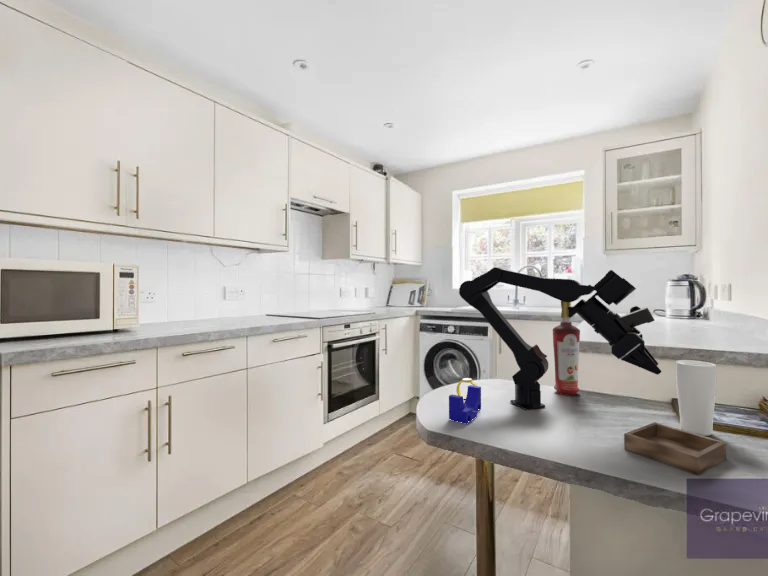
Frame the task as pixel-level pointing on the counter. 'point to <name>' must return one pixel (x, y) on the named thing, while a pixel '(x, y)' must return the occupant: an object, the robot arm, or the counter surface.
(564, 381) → the liquor
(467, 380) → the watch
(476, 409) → the blue u-shaped holder
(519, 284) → the robot arm
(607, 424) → the counter surface
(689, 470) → the walnut box
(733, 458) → the counter surface
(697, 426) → the drinking glass
